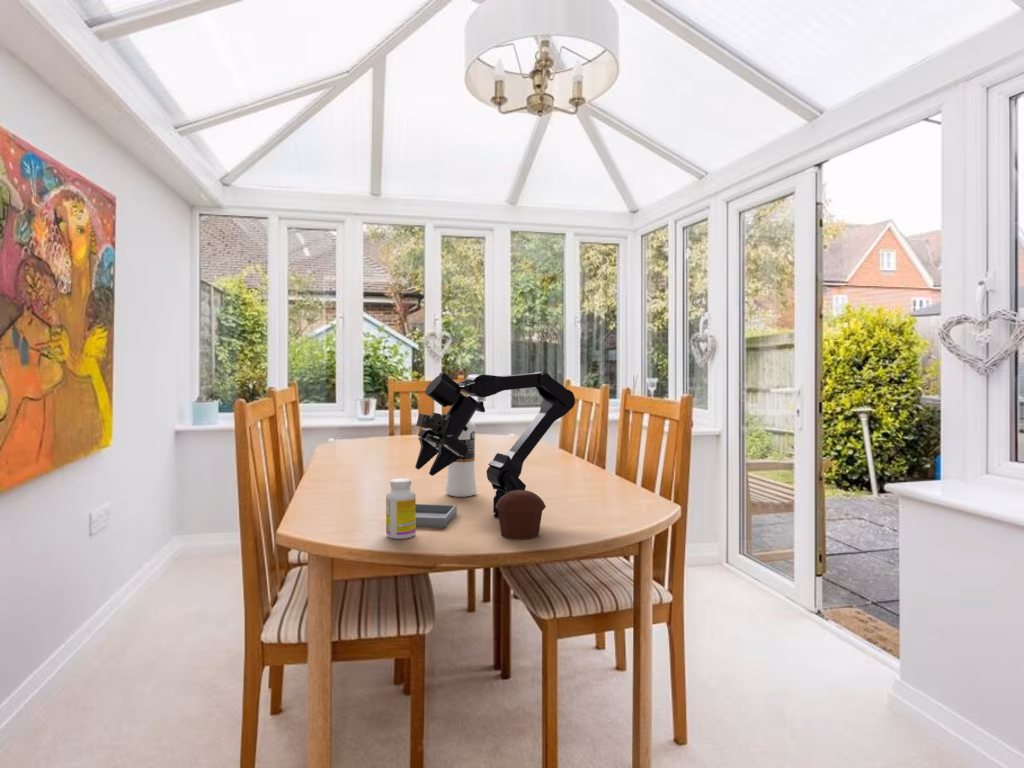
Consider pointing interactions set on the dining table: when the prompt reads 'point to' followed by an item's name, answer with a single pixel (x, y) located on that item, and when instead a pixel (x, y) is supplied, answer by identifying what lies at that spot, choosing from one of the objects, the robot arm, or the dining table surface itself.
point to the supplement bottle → (400, 510)
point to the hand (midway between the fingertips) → (423, 471)
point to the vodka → (463, 468)
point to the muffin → (520, 514)
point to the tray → (434, 515)
